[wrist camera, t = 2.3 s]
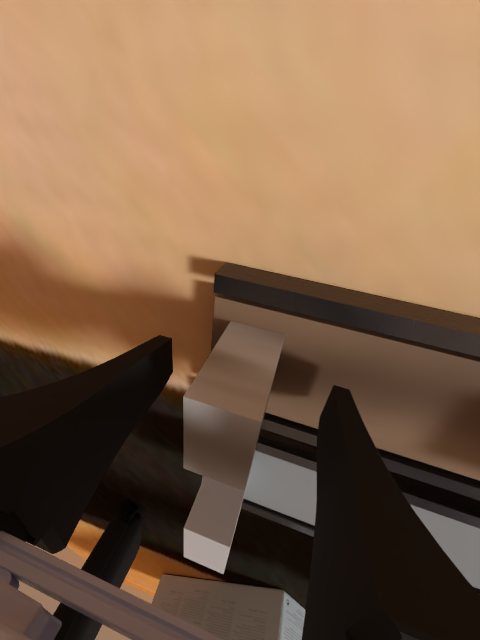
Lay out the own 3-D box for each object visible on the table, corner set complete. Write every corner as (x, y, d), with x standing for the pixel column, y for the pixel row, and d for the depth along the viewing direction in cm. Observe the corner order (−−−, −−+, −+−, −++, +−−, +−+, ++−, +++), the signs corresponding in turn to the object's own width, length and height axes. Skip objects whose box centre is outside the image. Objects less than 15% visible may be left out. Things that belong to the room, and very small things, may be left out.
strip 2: (577, 607, 16) (671, 781, 12) (207, 469, 21) (171, 557, 16) (676, 576, 13) (861, 801, 8) (211, 419, 17) (168, 512, 13)
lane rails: (561, 607, 17) (577, 640, 16) (207, 474, 21) (200, 492, 20) (1056, 446, 7) (1189, 499, 6) (226, 262, 12) (214, 274, 11)
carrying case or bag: (122, 488, 28) (-39, 743, 16) (149, 500, 27) (4, 771, 15) (125, 526, 34) (9, 732, 22) (147, 537, 33) (41, 752, 21)
